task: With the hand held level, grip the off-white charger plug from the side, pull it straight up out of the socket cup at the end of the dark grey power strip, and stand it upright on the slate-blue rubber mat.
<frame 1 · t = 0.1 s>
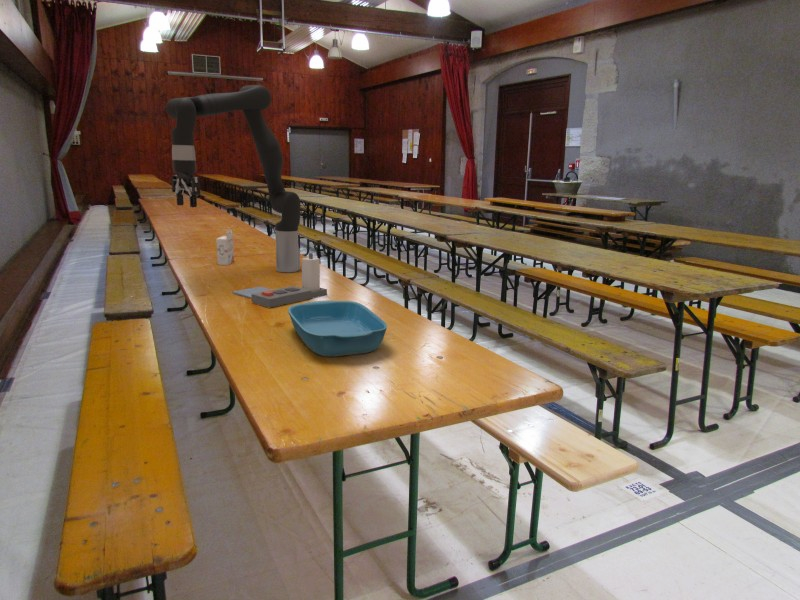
hand: (186, 206, 200), 29 cm above the table, tool pointing down, fingers open, 8 cm apart
rubber mat: (256, 293, 201), on the table
ink cartridge box: (225, 263, 252), on the table
casserole dish: (335, 340, 155), on the table
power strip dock: (310, 294, 202), on the table
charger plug: (310, 294, 202), resting in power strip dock
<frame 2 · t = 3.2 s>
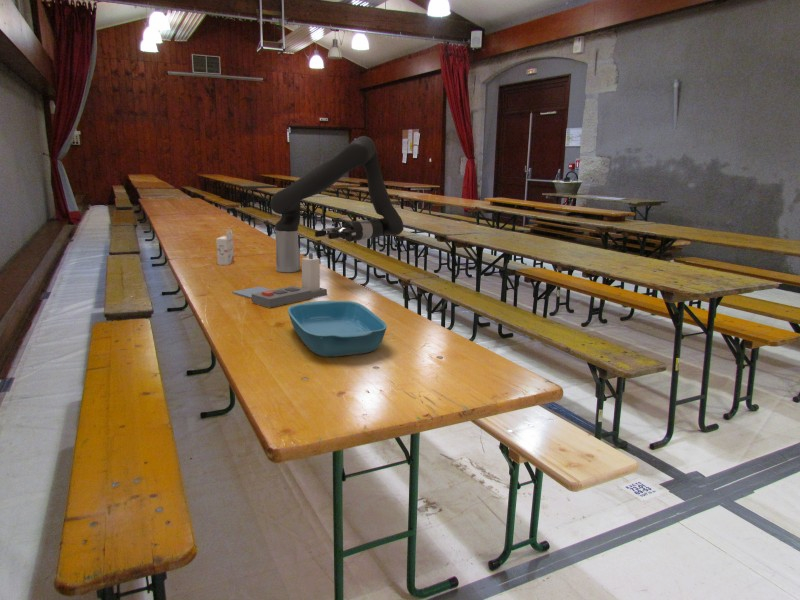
hand: (322, 235, 204), 20 cm above the table, tool horizontal, fingers open, 8 cm apart
nothing on the table moved.
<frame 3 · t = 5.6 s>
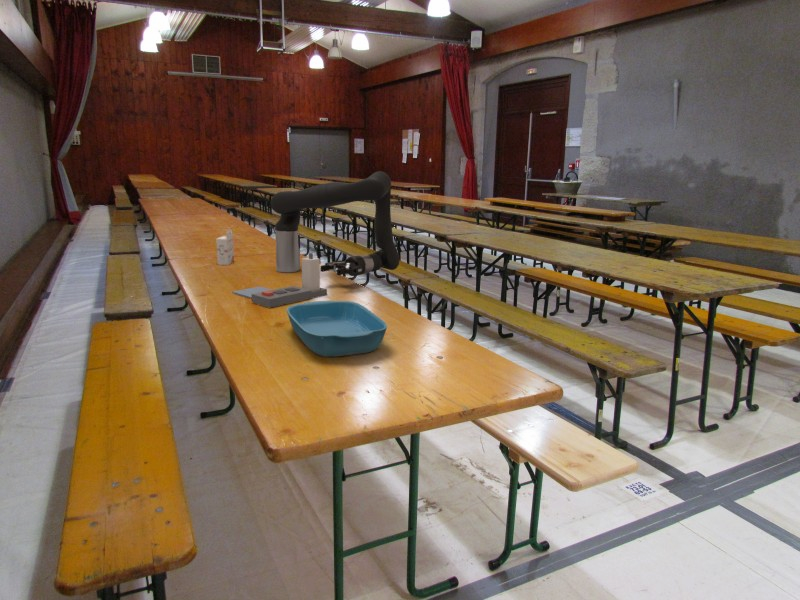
hand: (329, 270, 207), 7 cm above the table, tool horizontal, fingers open, 8 cm apart
nothing on the table moved.
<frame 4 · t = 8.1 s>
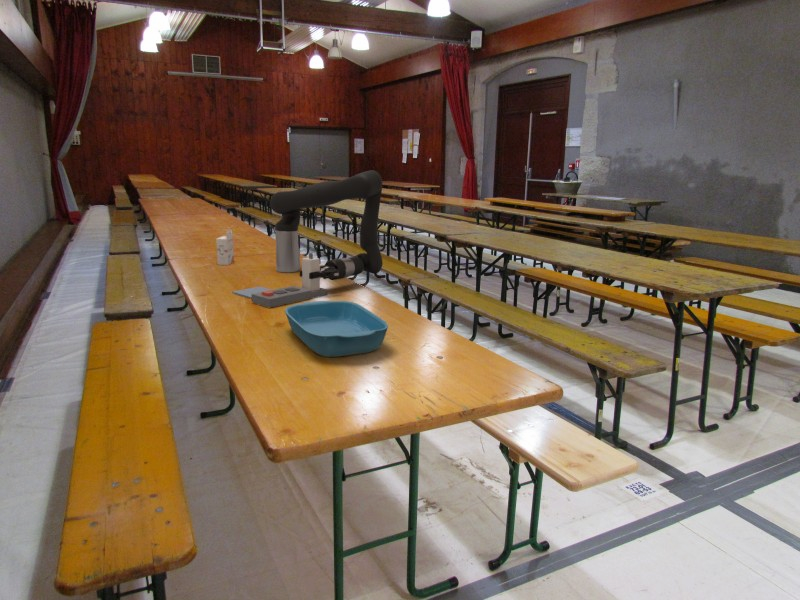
hand: (305, 274, 198), 8 cm above the table, tool horizontal, fingers closed on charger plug, 4 cm apart
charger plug: (311, 294, 202), resting in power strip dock, touching gripper
everything else where it was.
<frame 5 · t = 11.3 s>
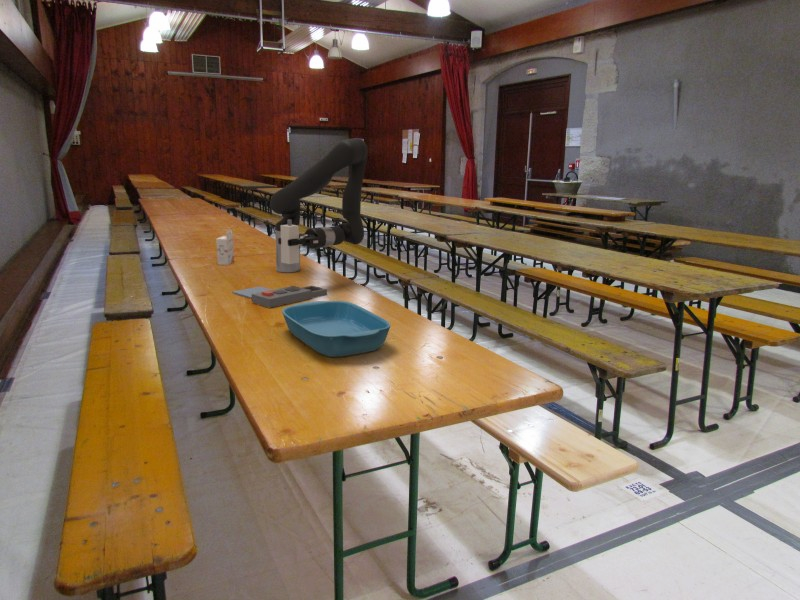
hand: (283, 242, 195), 19 cm above the table, tool horizontal, fingers closed on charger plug, 4 cm apart
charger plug: (290, 262, 199), point 11 cm above the table, touching gripper
when the fingers open (9 cm above the table, at t = 14.5 s): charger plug stays where it is, resting on rubber mat.
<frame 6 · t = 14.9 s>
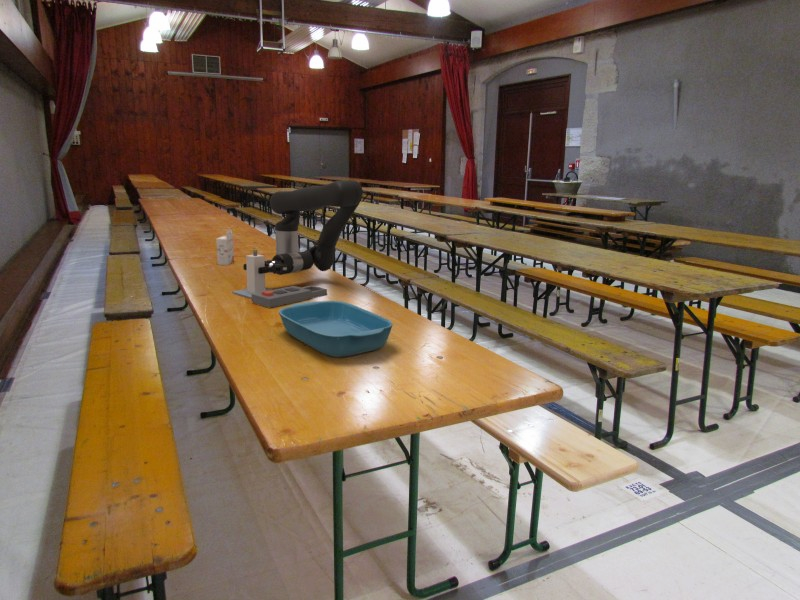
hand: (251, 269, 197), 9 cm above the table, tool horizontal, fingers open, 8 cm apart
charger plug: (256, 291, 201), point 1 cm above the table, touching rubber mat
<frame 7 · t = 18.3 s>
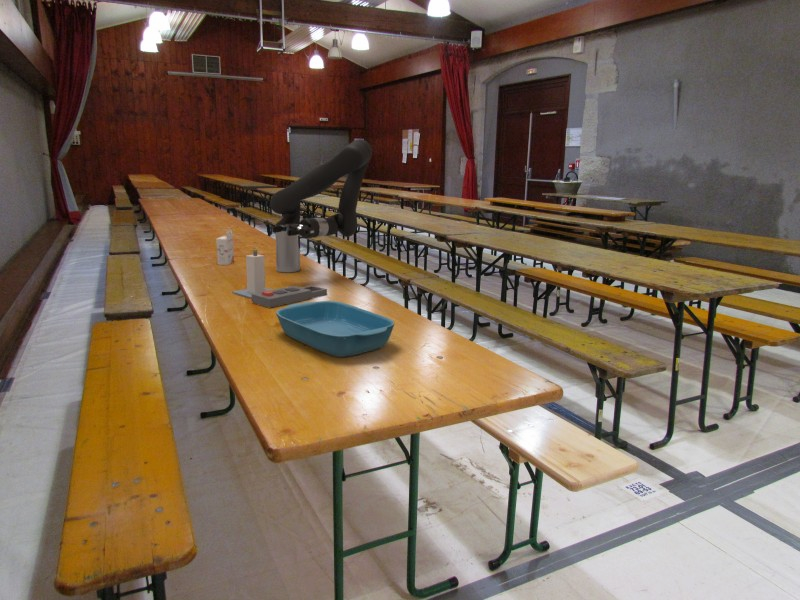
hand: (280, 231, 204), 21 cm above the table, tool horizontal, fingers open, 8 cm apart
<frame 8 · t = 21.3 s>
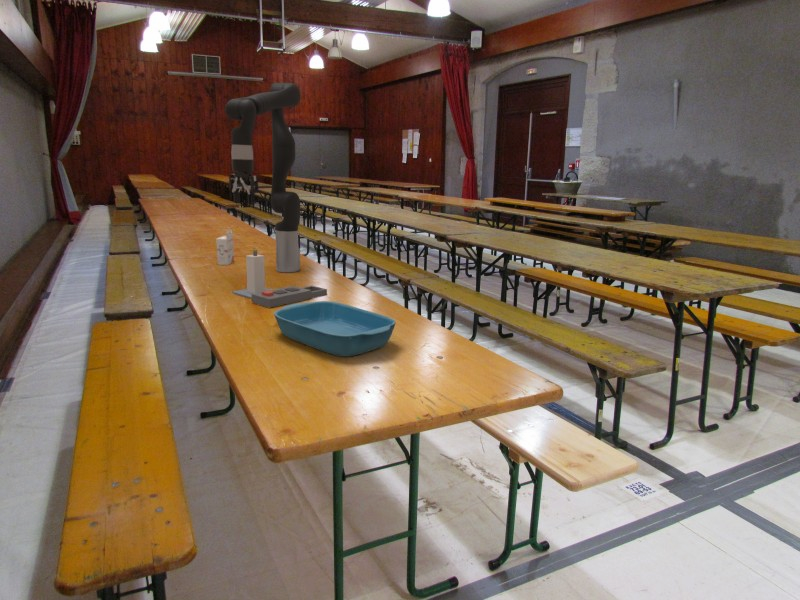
hand: (244, 203, 206), 30 cm above the table, tool pointing down, fingers open, 8 cm apart
at the end: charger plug inside the target area (0.1 cm from its centre), point 0.6 cm above the table; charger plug tilted 0°; the gripper is holding nothing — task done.
